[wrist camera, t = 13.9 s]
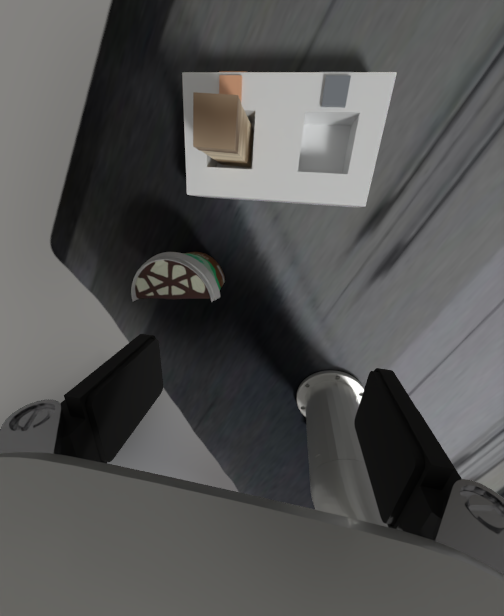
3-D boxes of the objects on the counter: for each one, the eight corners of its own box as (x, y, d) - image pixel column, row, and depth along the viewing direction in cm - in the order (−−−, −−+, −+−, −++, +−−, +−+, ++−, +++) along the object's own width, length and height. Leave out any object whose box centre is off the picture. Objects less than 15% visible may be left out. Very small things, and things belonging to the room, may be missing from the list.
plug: (251, 168, 31) (234, 150, 22) (221, 165, 32) (193, 146, 23) (254, 131, 30) (237, 95, 21) (223, 128, 30) (193, 92, 21)
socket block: (355, 207, 32) (366, 206, 27) (200, 196, 35) (185, 194, 30) (380, 92, 27) (399, 65, 22) (198, 90, 30) (180, 66, 25)
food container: (230, 242, 37) (210, 252, 27) (234, 280, 39) (216, 302, 30) (158, 245, 39) (116, 255, 29) (165, 281, 41) (128, 301, 32)
